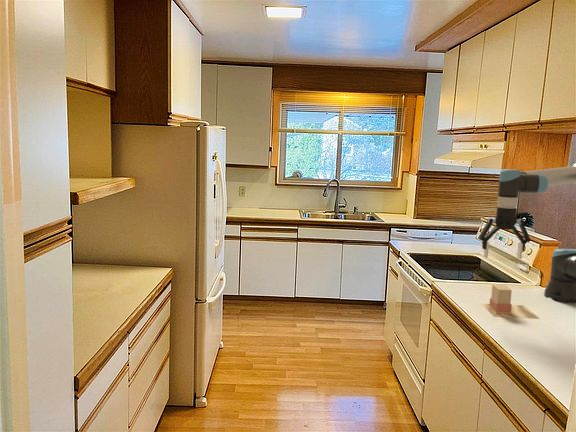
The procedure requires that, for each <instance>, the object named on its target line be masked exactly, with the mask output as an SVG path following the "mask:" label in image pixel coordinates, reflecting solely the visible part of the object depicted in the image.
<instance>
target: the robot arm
mask: <svg viewBox="0 0 576 432" xmlns="http://www.w3.org/2000/svg"><path fill="white" fill-rule="evenodd" d="M499 172H500V173H499V179H498V195H497V203H496V204H497V207H496V214H495V218H491V217H488V218H487V222H486V224H485V226H484V227H483V229H482V230H481V232H480V234H479V235H478V240H479V241H482V243H481V245H482V248H481V249H483V250H484V251H483V257H484V258H486V259H487V258H488V257H489V248H490V247H489V246H490V242H489V241H490V239H491V238H492V237H493V236H494V235H495V234H496V233H497V232H498V231H500V230H503V231H504V230H506V231H507V230H508V231H510V230H511V231H512V233H514V235H515V236H516V238H517V239H518V240H519V241H520V242H519V241H518V245H517V254H516V258H518V259H519V260H522V259H523V258H522V256H523V251H524V252H525V249H526V244H527V243H530V242H531V238H530V236H529V233H528V231H527V229H526V226H525V220H524V219H523V218H519V219H517V214H518V212H517V211H518V208H517V207H518V205H519V203H518V200H519V194H521V193H523V194H525V193H526V194H527V193H528V194H541V193H545V192H546V191H547V189H548V188H549V186H560V185H569V184H574V185H576V163H574V164H573V165H571V166H564V167H563V166H561V167H554V168H544V169H536V170H535V169H534V170H525V171H521V170H519V169H509V168H506V169H503V168H502V169H501V171H499ZM494 223H495V225H494V226H493V227H492V225H493V224H494ZM516 224H517V225H518V226H519V229H520V231H519V230H518V229H517V228H516V227H517V226H516ZM491 227H492V229H490V228H491ZM489 230H490V231H489ZM520 232H521V233H522V235H521V233H520ZM549 277H550V278H549V281H548V283H547V285H546V287H545V288H544V292H543V295H544V297H546V298H548V299H551V300H553V301H557V302H563V303H571V304H572V303H573V304H574V303H576V248H555V249H554V250H553V251H552V255H551V265H550V276H549Z"/></svg>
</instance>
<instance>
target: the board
mask: <svg viewBox="0 0 576 432" xmlns="http://www.w3.org/2000/svg"><path fill="white" fill-rule="evenodd" d="M489 304H490V303H481V305H482V306H483V307H484V308H485V309H486V310H487V311H488V312H489V313H490V314H491V315H492V316H493V317H495V318H512V319H513V318H514V319H515V318H516V319H519V318H520V319H537V320H539V319H541V318H540V317H539V316H538V315H536V314H535V313H534V312H532V311H531V310H530V309H529V308H527V306H525V305H522V304H520V305H519V304H512V308H511V314H499V313H495V312H494V311H493V310H492V309H491V308H490V307H489Z"/></svg>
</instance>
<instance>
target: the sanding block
mask: <svg viewBox="0 0 576 432" xmlns="http://www.w3.org/2000/svg"><path fill="white" fill-rule="evenodd" d="M491 286H492V287H491V297H489V303H488V304H489V307H490V308H491V309H492V310H493V311H494V312H495V313H499V314H511V308H512V305H513V304H512V303H511V302H512V301H511V300H512V292H513V291H512V290H513V289H511V288H509V287H508V286H507V285H506V284H492V285H491Z"/></svg>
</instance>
